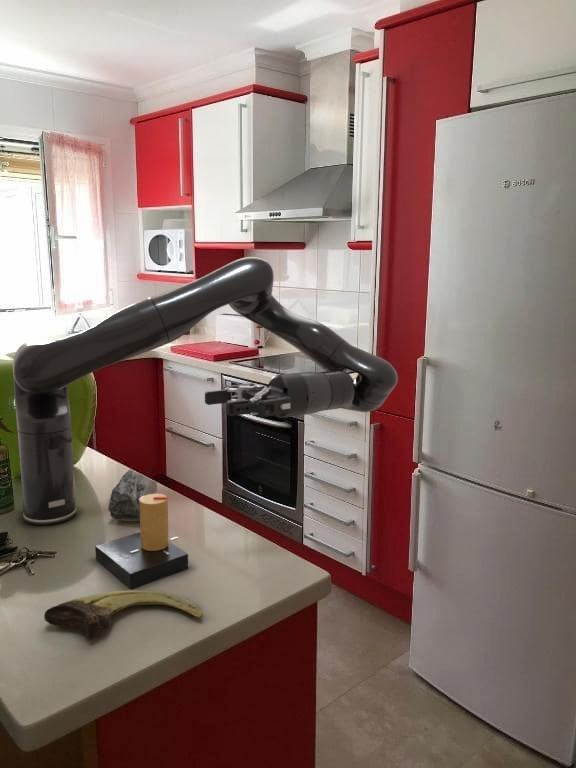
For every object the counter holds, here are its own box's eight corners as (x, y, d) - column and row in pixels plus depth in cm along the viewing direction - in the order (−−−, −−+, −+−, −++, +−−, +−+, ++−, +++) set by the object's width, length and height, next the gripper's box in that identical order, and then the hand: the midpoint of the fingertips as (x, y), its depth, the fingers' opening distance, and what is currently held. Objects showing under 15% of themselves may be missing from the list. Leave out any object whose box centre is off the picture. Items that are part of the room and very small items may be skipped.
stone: (116, 460, 120) (145, 472, 113) (152, 482, 127) (181, 495, 120) (88, 505, 117) (116, 520, 110) (126, 525, 124) (155, 541, 117)
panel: (95, 559, 103) (95, 544, 102) (159, 539, 110) (159, 525, 110) (130, 589, 94) (130, 573, 93) (197, 565, 101) (197, 549, 101)
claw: (49, 652, 79) (48, 628, 78) (46, 611, 88) (45, 588, 87) (203, 623, 86) (203, 600, 85) (185, 587, 95) (185, 567, 95)
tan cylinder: (138, 551, 100) (137, 502, 99) (143, 539, 105) (141, 491, 103) (166, 551, 101) (165, 502, 99) (170, 538, 105) (169, 491, 103)
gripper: (279, 366, 117) (198, 374, 109) (322, 380, 105) (235, 389, 97) (279, 406, 119) (199, 416, 110) (321, 423, 107) (235, 436, 98)
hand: (216, 403), depth 104 cm, fingers open, 8 cm apart
